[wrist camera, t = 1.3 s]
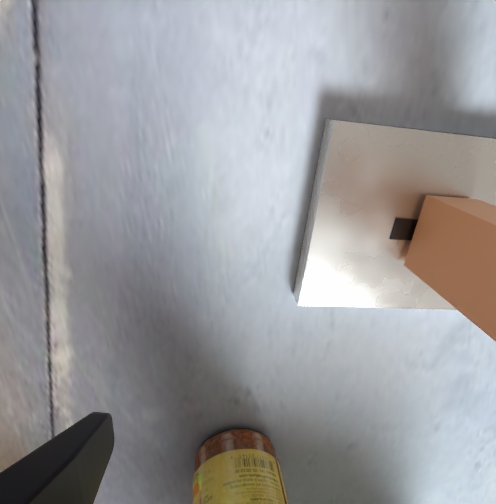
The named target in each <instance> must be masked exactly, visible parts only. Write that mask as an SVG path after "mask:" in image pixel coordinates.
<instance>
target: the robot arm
mask: <svg viewBox="0 0 496 504" xmlns="http://www.w3.org/2000/svg"><path fill="white" fill-rule="evenodd" d="M113 447H114V431H113V423H112V417H111V415H110V414H109V413H101V412H93V413H91V414H89V415H87V416H86V417H84V418H83V419H81V420H80V421H78V422H77V423H75V424H74V425H72V426H71V427H69V428H68V429H66V430H65V431H63V432H62V433H60V434H59V435H57V436H55V437H54V438H52V439H51V440H49V441H48V442H46V443H45V444H43V445H42V446H40V447H39V448H37V449H36V450H34V451H33V452H31V453H30V454H28V455H27V456H25V457H24V458H22V459H20V460H19V461H17V462H16V463H14V464H13V465H11V466H10V467H8V468H7V469H5V470H4V471H2V472H1V473H0V504H93V503H94V500H95V497H96V494H97V492H98V489H99V486H100V484H101V481H102V478H103V476H104V473H105V470H106V467H107V465H108V462H109V459H110V457H111V454H112V451H113Z"/></svg>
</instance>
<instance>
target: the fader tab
mask: <svg viewBox="0 0 496 504" xmlns="http://www.w3.org/2000/svg"><path fill="white" fill-rule="evenodd" d="M404 266H405V267H406V268H408V269H409V270H410V271H411V272H412V273H414V274H415V275H416V276H417V277H419V278H420V279H421V280H422V281H423V282H425V283H426V284H427V285H428V286H429V287H431V288H432V289H433V290H434V291H435V292H437V293H438V294H439V295H440V296H442V297H443V298H444V299H445V300H446V301H448V302H449V303H450V304H451V305H452V306H454V307H455V308H456V309H457V310H458V311H460V312H461V313H462V314H463V315H464V316H466V317H467V318H468V319H469V320H471V321H472V322H473V323H474V324H475V325H477V326H478V327H479V328H480V329H481V330H483V331H484V332H485V333H486V334H487V335H489V336H490V337H491V338H492V339H493V340H495V341H496V206H495V205H492V204H489V203H487V202H484V201H481V200H478V199H468V198H456V197H444V196H433V195H426V197H425V200H424V203H423V207H422V210H421V213H420V216H419V219H418V222H417V225H416V228H415V231H414V235H413V238H412V241H411V244H410V247H409V250H408V253H407V256H406V259H405V263H404Z"/></svg>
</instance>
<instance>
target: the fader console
mask: <svg viewBox="0 0 496 504" xmlns="http://www.w3.org/2000/svg"><path fill="white" fill-rule="evenodd" d="M426 195H433V196H444V197H456V198H468V199H478V200H481V201H484V202H487V203H489V204H492V205H495V206H496V139H494V138H486V137H477V136H469V135H460V134H452V133H443V132H434V131H426V130H417V129H409V128H400V127H392V126H383V125H375V124H366V123H357V122H349V121H340V120H332V119H326V121H325V126H324V132H323V137H322V142H321V148H320V153H319V158H318V164H317V169H316V175H315V180H314V185H313V191H312V196H311V201H310V207H309V212H308V217H307V223H306V228H305V234H304V239H303V244H302V250H301V255H300V260H299V266H298V271H297V276H296V282H295V287H294V292H293V296H294V298H295V300H296V302H297V304H298V306H333V307H371V308H409V309H447V310H457V309H456V308H455V307H454V306H452V305H451V304H450V303H449V302H448V301H446V300H445V299H444V298H443V297H442V296H440V295H439V294H438V293H437V292H435V291H434V290H433V289H432V288H431V287H429V286H428V285H427V284H426V283H425V282H423V281H422V280H421V279H420V278H419V277H417V276H416V275H415V274H414V273H412V272H411V271H410V270H409V269H408V268H406V267H405V266H404V263H405V259H406V256H407V253H408V250H409V247H410V244H411V241H412V238H413V235H414V231H415V228H416V225H417V222H418V219H419V216H420V213H421V210H422V207H423V203H424V200H425V197H426Z"/></svg>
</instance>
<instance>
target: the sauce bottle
mask: <svg viewBox="0 0 496 504" xmlns="http://www.w3.org/2000/svg"><path fill="white" fill-rule="evenodd" d="M193 504H288V500H287V495H286V491H285V487H284V482H283V478H282V474H281V469H280V465H279V462H278V460H277V459H276V457H275V452H274V449H273V446H272V444H271V442H270V440H269V439H268V438H267V437H266V436H264V435H263V434H261V433H258V432H255V431H252V430H249V429H236V430H235V429H231V430H228V431H226V432H221V433H220V434H218V435H216V436H213V437H212V438H210V439H208V440H207V441H206V442H204V444H203V445H202V446H201V447H200V449H199V451H198V453H197V455H196V461H195V474H194V478H193Z"/></svg>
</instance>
